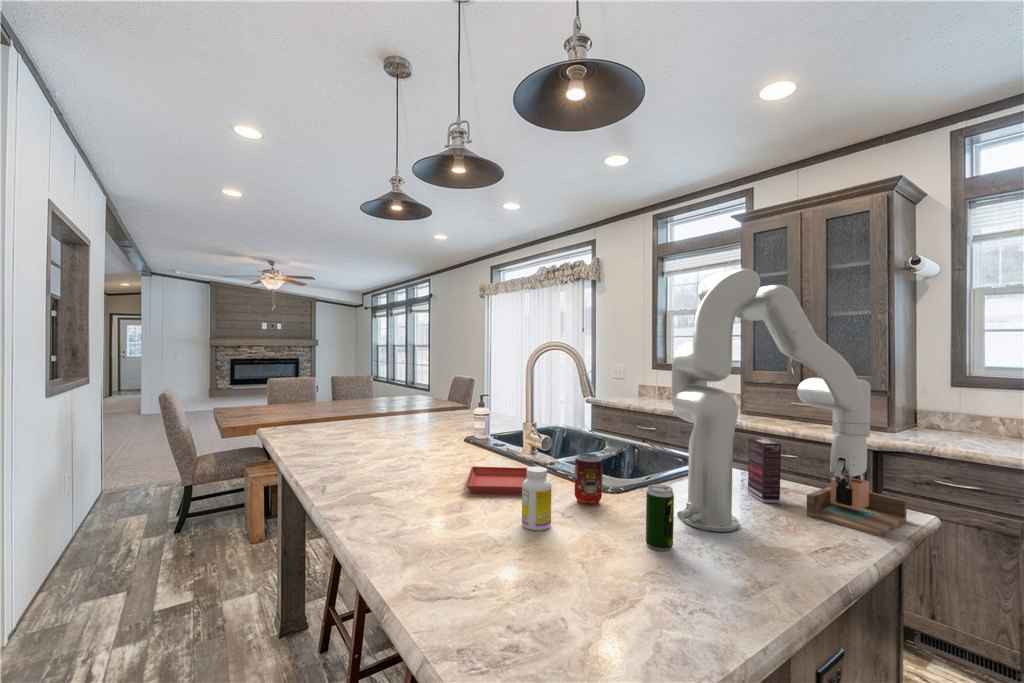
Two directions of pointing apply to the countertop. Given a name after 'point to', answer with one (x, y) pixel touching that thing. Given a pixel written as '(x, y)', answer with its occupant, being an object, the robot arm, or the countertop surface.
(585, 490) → the soda can
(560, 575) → the countertop surface
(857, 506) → the brown box
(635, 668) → the countertop surface
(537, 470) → the supplement bottle
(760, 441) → the supplement box
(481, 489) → the plant saucer
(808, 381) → the robot arm
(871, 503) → the corner board
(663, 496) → the beer can
